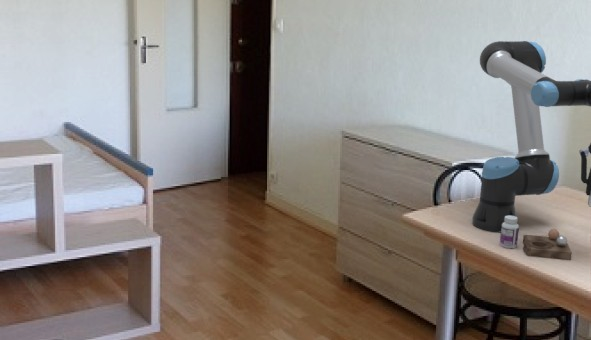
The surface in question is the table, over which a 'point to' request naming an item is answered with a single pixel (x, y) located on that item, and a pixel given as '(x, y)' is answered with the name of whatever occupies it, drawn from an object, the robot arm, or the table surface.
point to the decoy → (553, 234)
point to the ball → (561, 240)
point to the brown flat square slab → (545, 248)
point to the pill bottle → (509, 232)
